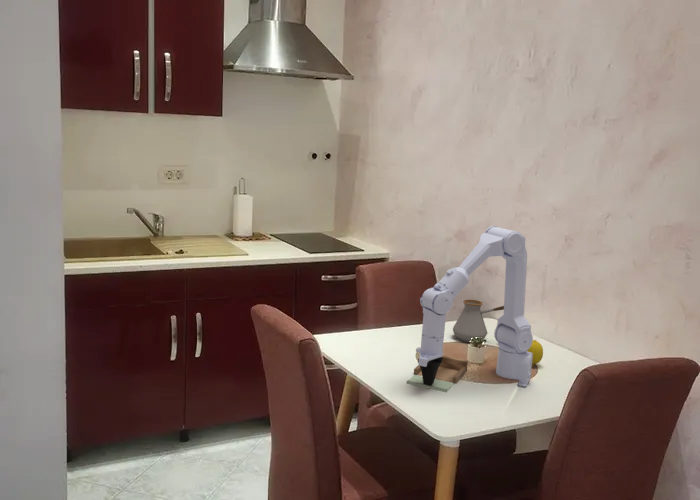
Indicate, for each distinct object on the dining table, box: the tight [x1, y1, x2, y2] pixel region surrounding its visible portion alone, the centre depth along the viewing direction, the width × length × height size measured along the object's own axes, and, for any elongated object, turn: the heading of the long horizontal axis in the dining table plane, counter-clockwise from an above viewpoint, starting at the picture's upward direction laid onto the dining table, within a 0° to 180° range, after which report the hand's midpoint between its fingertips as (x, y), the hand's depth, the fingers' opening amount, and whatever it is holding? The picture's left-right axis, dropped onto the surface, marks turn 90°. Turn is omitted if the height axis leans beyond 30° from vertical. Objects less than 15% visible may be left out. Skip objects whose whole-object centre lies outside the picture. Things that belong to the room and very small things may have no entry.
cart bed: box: [413, 355, 469, 384], centre depth 184 cm, size 12×11×4 cm
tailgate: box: [406, 374, 455, 393], centre depth 175 cm, size 11×1×7 cm
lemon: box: [527, 339, 544, 366], centre depth 198 cm, size 6×6×8 cm
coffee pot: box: [452, 299, 504, 343], centre depth 217 cm, size 21×12×15 cm, turn 62°
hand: (428, 384), depth 173 cm, fingers closed, pressing on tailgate
